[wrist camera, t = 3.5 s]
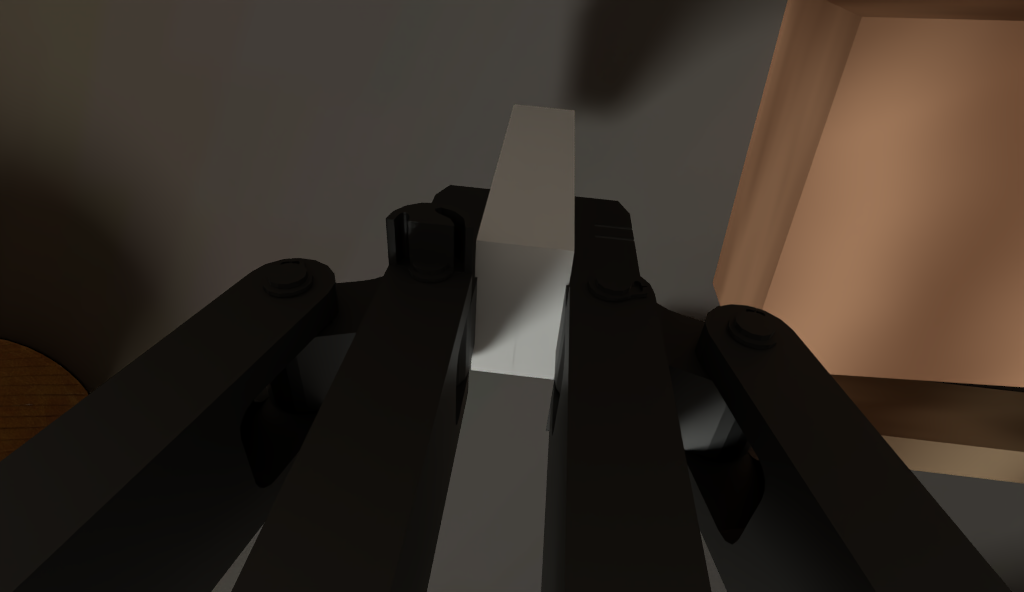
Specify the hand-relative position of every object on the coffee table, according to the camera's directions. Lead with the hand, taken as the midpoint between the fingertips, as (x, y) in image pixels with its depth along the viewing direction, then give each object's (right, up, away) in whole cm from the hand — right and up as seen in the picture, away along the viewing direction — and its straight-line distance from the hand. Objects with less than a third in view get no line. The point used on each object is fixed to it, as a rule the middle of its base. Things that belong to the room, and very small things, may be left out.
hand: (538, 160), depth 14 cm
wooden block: (+11, +1, +2) cm, 11 cm away
